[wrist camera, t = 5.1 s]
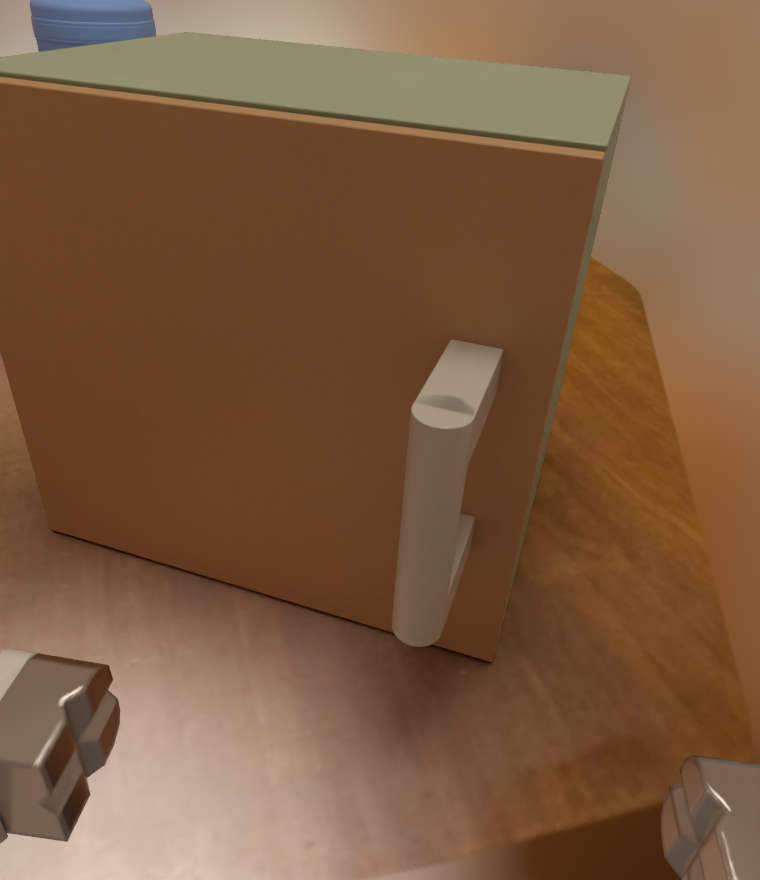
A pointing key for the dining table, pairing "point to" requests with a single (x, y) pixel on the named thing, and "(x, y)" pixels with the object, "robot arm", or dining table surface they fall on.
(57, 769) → the robot arm
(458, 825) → the dining table surface
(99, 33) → the water jug
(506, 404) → the door
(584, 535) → the dining table surface
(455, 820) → the dining table surface
